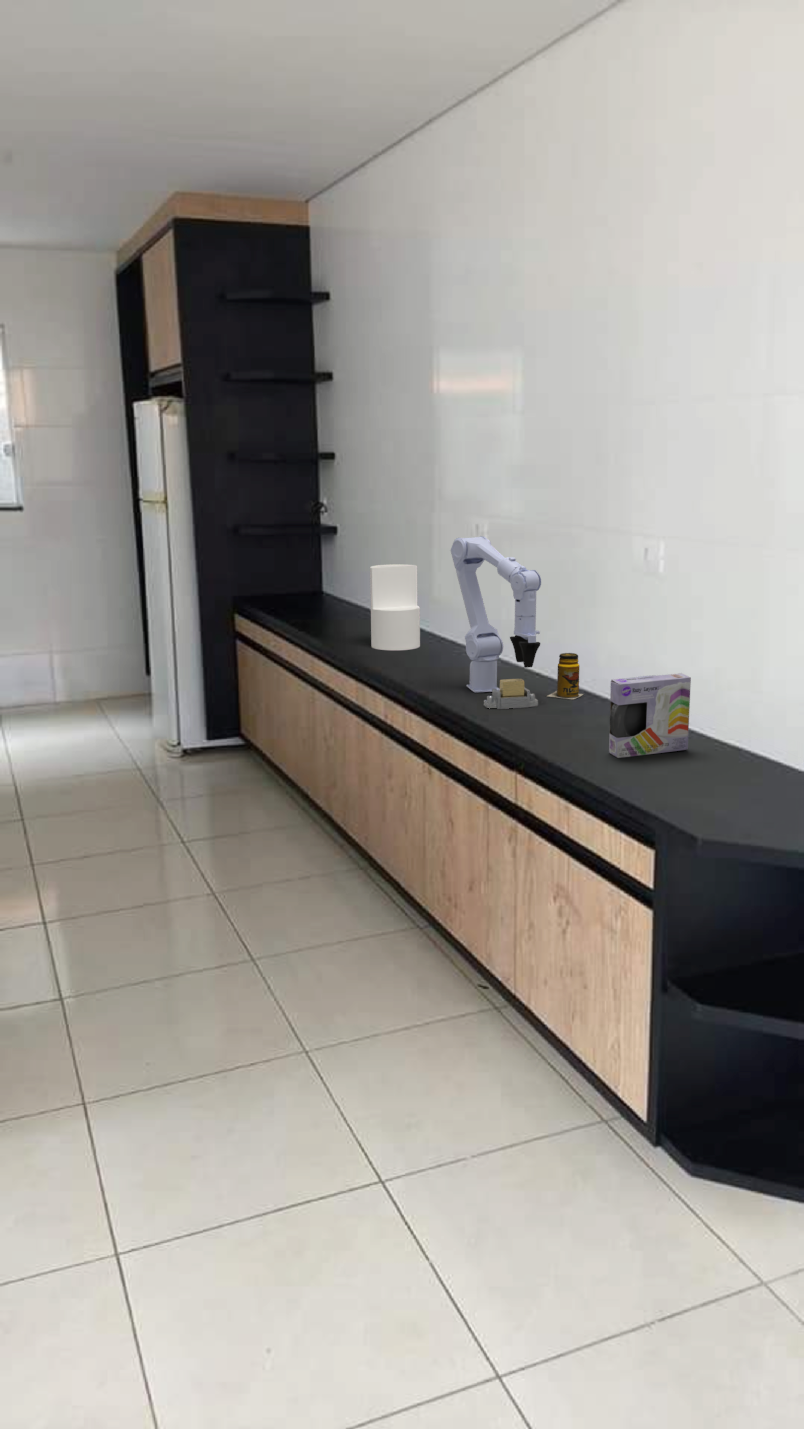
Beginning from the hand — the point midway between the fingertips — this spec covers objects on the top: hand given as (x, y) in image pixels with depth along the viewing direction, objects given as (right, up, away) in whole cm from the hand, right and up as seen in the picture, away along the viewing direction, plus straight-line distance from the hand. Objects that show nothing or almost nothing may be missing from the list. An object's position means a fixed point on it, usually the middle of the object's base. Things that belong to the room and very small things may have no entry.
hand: (524, 664), depth 310 cm
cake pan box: (+22, -23, -52) cm, 61 cm away
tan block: (-4, -10, -5) cm, 12 cm away
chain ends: (-4, -11, -4) cm, 13 cm away
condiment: (+12, -9, +8) cm, 17 cm away
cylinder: (-36, +10, +90) cm, 97 cm away
